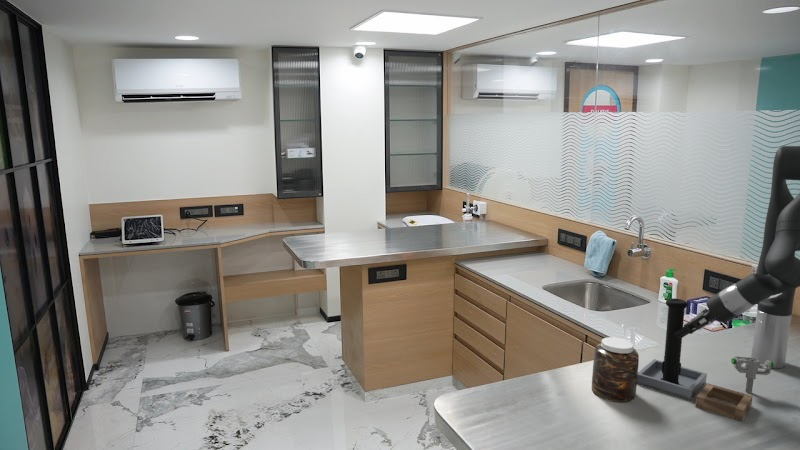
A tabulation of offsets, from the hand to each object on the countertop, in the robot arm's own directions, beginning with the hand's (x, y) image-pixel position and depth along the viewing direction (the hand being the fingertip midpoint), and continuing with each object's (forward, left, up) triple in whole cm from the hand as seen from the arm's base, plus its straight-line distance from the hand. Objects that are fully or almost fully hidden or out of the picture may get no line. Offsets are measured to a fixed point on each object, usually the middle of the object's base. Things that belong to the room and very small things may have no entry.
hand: (681, 332), depth 162 cm
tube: (+2, -1, -16) cm, 16 cm away
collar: (+5, +14, -16) cm, 22 cm away
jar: (+18, -11, -16) cm, 27 cm away
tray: (0, -1, -16) cm, 16 cm away
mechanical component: (-9, +17, -16) cm, 25 cm away
